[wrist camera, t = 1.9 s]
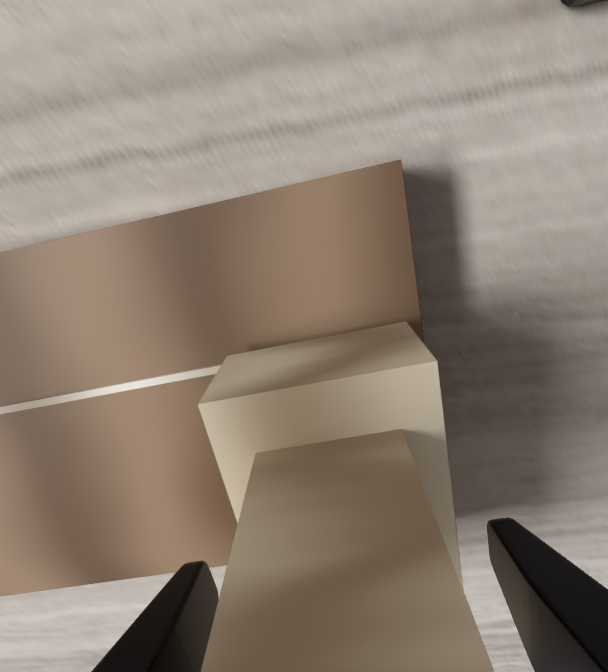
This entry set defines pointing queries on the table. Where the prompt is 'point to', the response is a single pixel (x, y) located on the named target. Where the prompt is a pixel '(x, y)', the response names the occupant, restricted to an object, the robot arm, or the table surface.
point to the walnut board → (169, 364)
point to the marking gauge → (338, 511)
